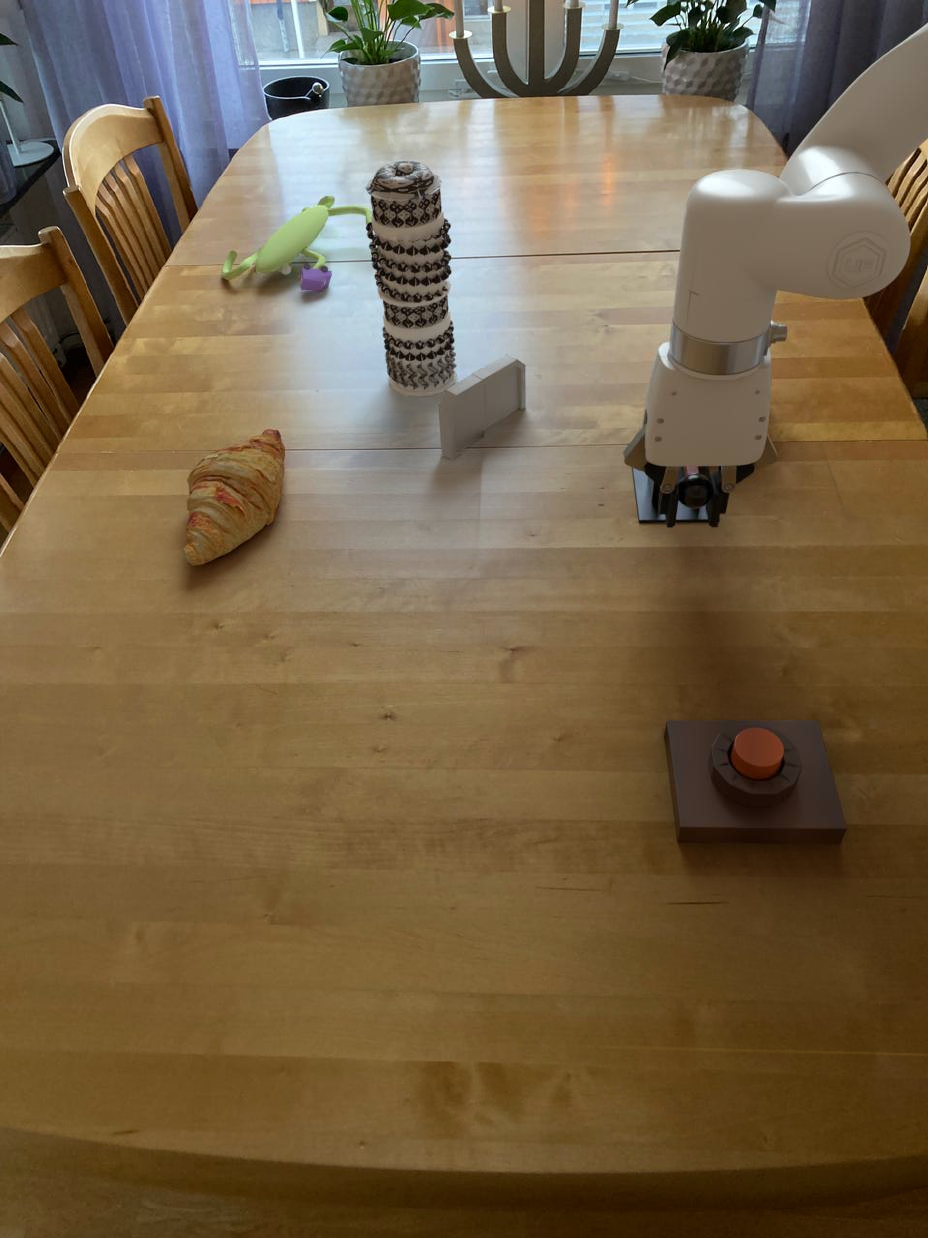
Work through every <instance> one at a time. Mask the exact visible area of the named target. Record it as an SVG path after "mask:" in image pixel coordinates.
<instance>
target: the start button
mask: <svg viewBox="0 0 928 1238" xmlns="http://www.w3.org/2000/svg"><path fill="white" fill-rule="evenodd" d="M783 755H784V747H783V744H782V742H781V740H780V739H779V738H778V737H777V736H776V735H775V734H773V733H772V732H770V731H768V730H765V729H762V728H749V729H746V730H743V731H742V732H740V733H739V734H738V735H737V736H736V738H735V741H734V745H733V749H732V753H731V761H732V764H733V766H734V767H735V769H736V770H737V771H738V772H739V773H740V774H742V775H743V776H745V777H748V778H750V779H755V780H764V779H768V778H770V777H772V776H774V775H775V774H776V773H777V772H778V770H779V768H780V764H781V761H782V758H783Z"/></svg>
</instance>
